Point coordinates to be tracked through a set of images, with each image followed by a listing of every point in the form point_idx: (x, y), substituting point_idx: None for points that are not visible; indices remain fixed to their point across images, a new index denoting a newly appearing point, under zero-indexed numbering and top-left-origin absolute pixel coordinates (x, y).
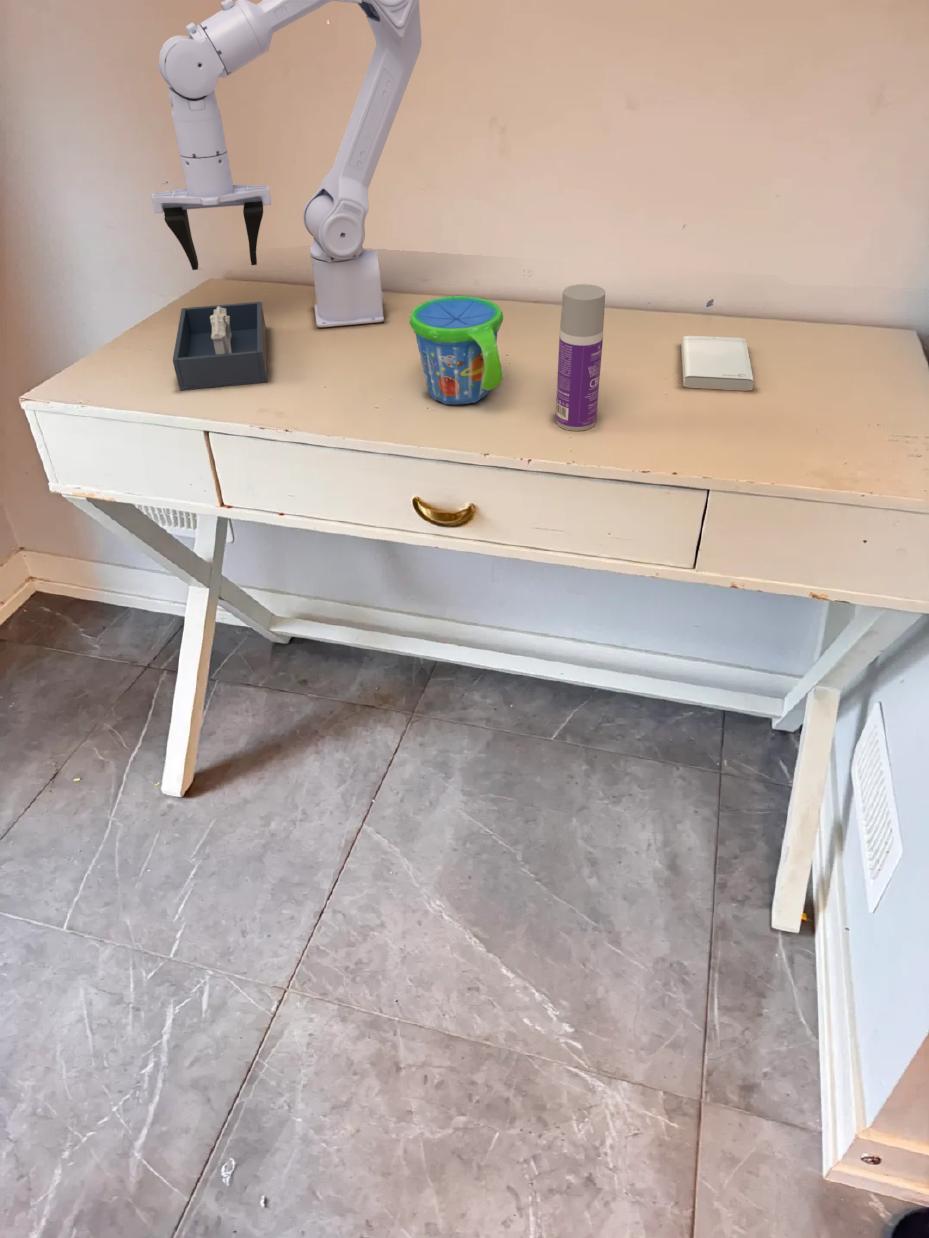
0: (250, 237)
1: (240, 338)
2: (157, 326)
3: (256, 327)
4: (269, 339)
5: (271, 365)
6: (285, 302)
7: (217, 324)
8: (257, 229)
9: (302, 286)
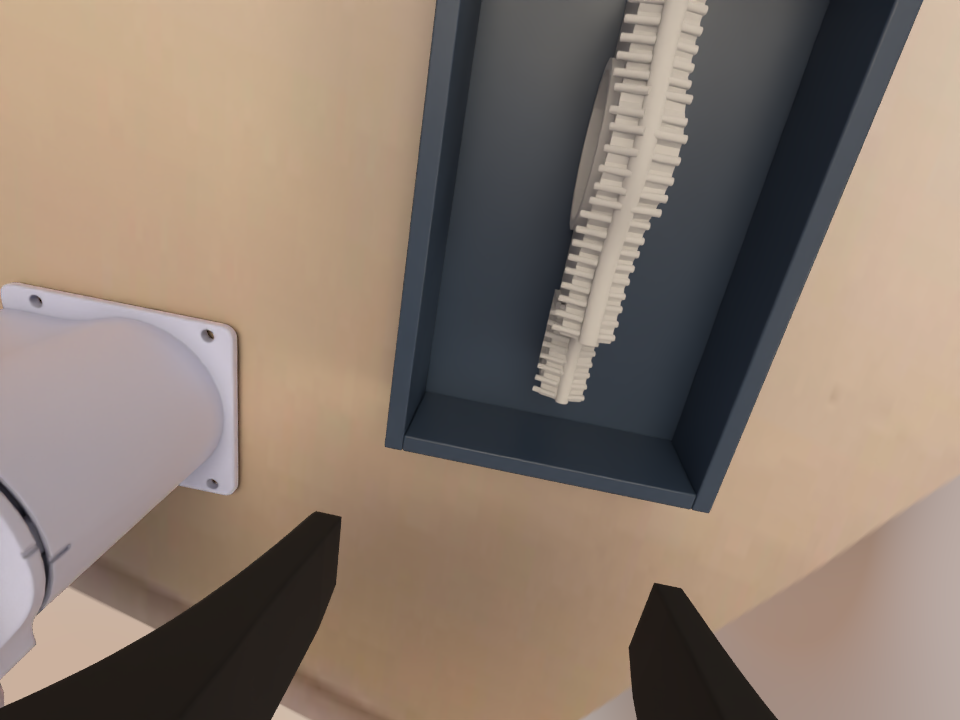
0: (224, 632)
1: (512, 331)
2: (748, 566)
3: (440, 395)
4: None
5: None
6: None
7: (659, 63)
8: (105, 665)
9: None
